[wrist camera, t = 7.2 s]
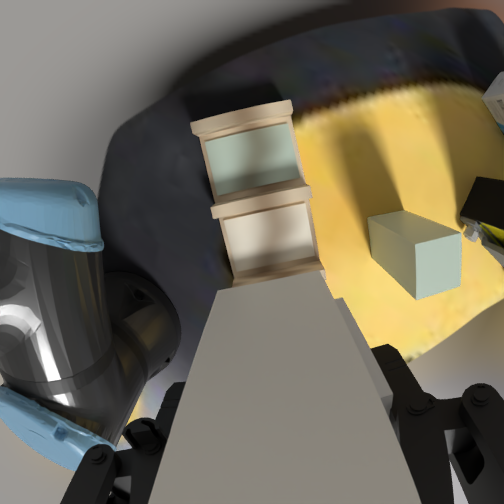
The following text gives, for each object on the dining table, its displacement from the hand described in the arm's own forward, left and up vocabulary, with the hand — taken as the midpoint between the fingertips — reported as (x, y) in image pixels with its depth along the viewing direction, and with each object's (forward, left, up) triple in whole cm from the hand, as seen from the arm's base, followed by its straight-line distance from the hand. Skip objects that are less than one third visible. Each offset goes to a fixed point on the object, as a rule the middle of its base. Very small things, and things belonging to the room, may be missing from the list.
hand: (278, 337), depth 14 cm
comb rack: (0, +4, -21) cm, 21 cm away
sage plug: (+14, -3, -21) cm, 25 cm away
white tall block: (0, 0, -1) cm, 1 cm away
